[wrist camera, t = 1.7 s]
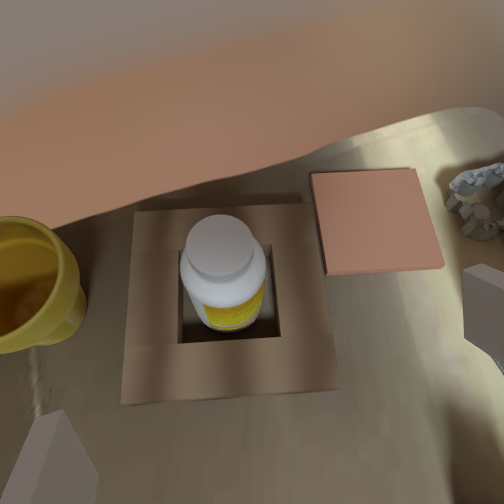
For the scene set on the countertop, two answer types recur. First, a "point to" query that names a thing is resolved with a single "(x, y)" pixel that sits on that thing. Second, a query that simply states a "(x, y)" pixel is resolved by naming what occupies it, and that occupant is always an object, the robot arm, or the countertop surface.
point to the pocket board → (231, 351)
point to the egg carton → (477, 212)
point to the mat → (374, 222)
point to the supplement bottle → (224, 273)
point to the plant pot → (36, 286)
